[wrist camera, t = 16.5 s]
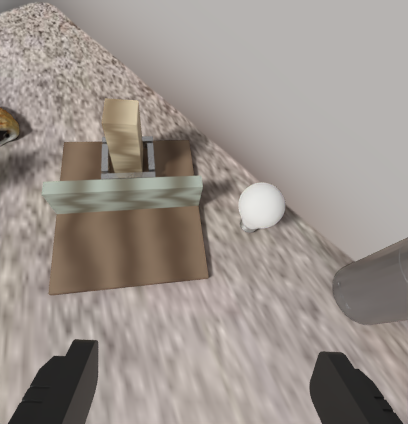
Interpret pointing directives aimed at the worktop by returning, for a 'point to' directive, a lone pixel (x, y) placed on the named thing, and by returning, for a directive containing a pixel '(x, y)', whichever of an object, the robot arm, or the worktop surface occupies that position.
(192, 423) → the worktop surface
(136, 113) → the block
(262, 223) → the light bulb
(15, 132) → the pastry
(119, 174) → the keeper socket
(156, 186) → the door mockup
